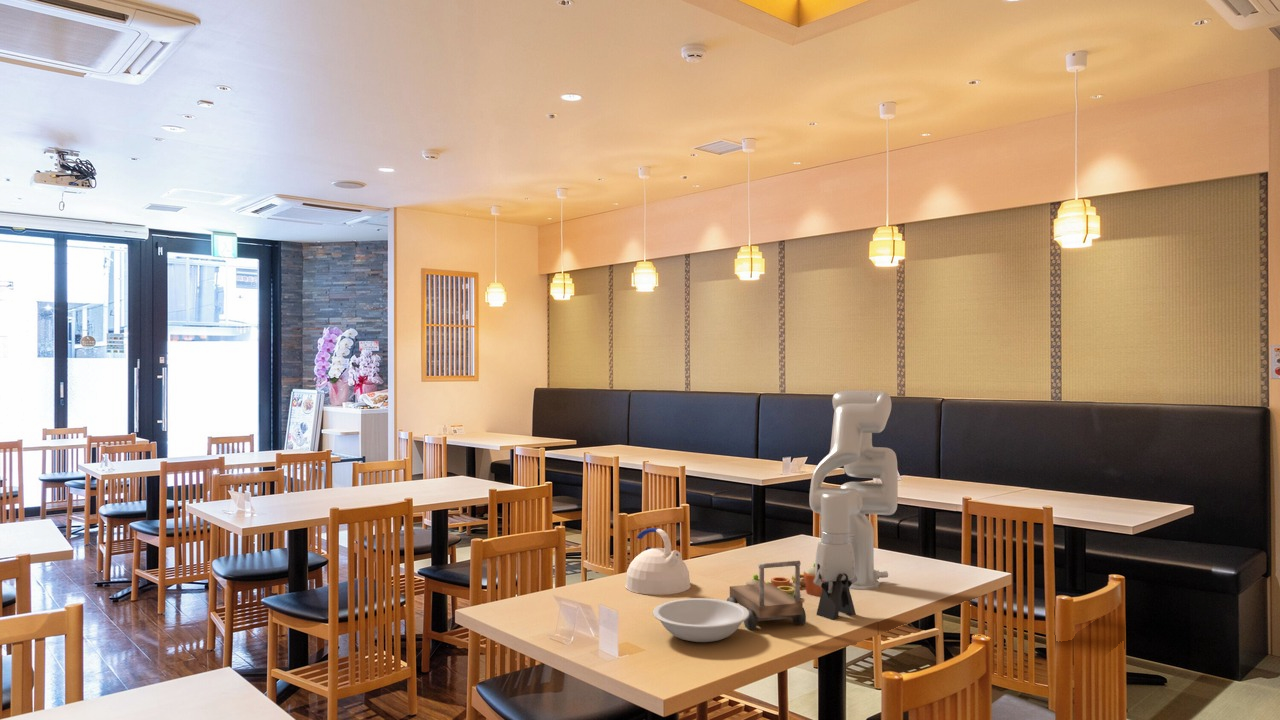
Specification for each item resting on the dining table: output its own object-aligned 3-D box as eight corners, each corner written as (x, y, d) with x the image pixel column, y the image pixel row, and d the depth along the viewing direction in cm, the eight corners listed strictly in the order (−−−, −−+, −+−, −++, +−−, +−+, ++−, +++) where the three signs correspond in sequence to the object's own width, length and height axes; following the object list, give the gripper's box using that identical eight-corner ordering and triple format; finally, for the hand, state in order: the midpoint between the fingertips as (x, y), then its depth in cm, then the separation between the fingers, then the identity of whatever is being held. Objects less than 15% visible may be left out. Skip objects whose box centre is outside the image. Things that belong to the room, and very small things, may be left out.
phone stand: (832, 622, 220) (832, 576, 220) (816, 616, 225) (815, 571, 225) (856, 616, 225) (855, 571, 225) (839, 610, 230) (839, 567, 230)
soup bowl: (657, 621, 221) (657, 596, 221) (748, 624, 218) (748, 599, 218) (648, 652, 197) (648, 625, 197) (750, 656, 195) (750, 627, 195)
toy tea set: (803, 583, 259) (803, 552, 259) (839, 595, 246) (839, 562, 246) (737, 596, 246) (737, 563, 246) (772, 609, 233) (771, 574, 233)
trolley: (775, 607, 233) (774, 544, 233) (808, 629, 214) (808, 560, 214) (724, 612, 229) (723, 548, 229) (753, 634, 210) (753, 565, 210)
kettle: (652, 600, 242) (651, 537, 242) (612, 585, 259) (611, 526, 259) (705, 588, 254) (704, 529, 254) (663, 575, 270) (663, 519, 271)
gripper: (854, 533, 231) (855, 600, 231) (801, 537, 226) (802, 605, 226) (869, 539, 223) (869, 607, 223) (814, 542, 219) (815, 612, 219)
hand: (835, 605), depth 225 cm, fingers closed on phone stand, 2 cm apart
